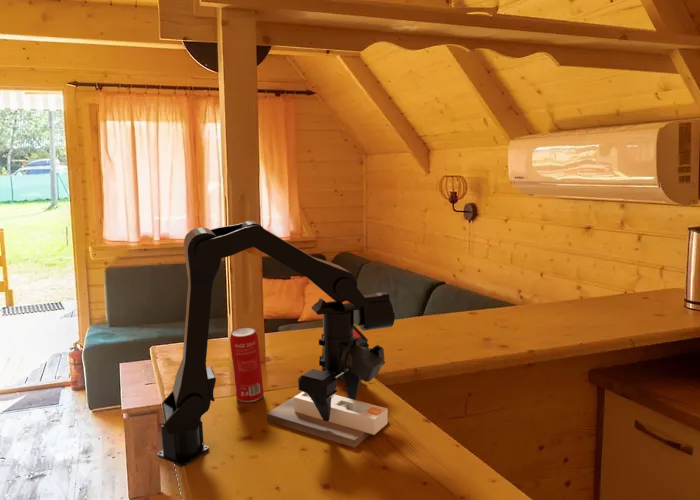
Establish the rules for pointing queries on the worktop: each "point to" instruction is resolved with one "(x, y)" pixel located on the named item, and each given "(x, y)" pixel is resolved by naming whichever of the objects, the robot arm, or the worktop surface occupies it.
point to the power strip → (346, 412)
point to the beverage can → (246, 364)
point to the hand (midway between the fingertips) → (339, 410)
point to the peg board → (315, 425)
